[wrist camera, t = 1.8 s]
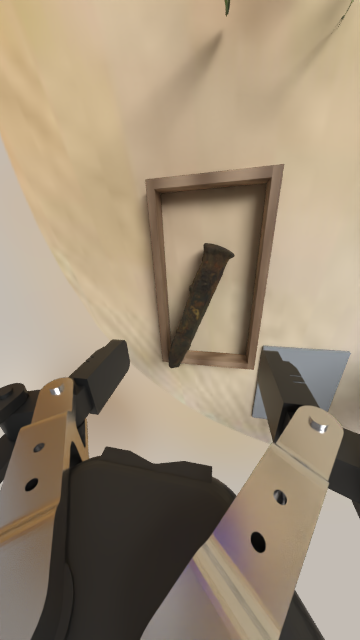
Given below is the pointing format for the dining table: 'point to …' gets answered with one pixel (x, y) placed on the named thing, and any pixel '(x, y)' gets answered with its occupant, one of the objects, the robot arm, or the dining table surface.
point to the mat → (310, 373)
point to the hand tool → (198, 300)
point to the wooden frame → (273, 180)
